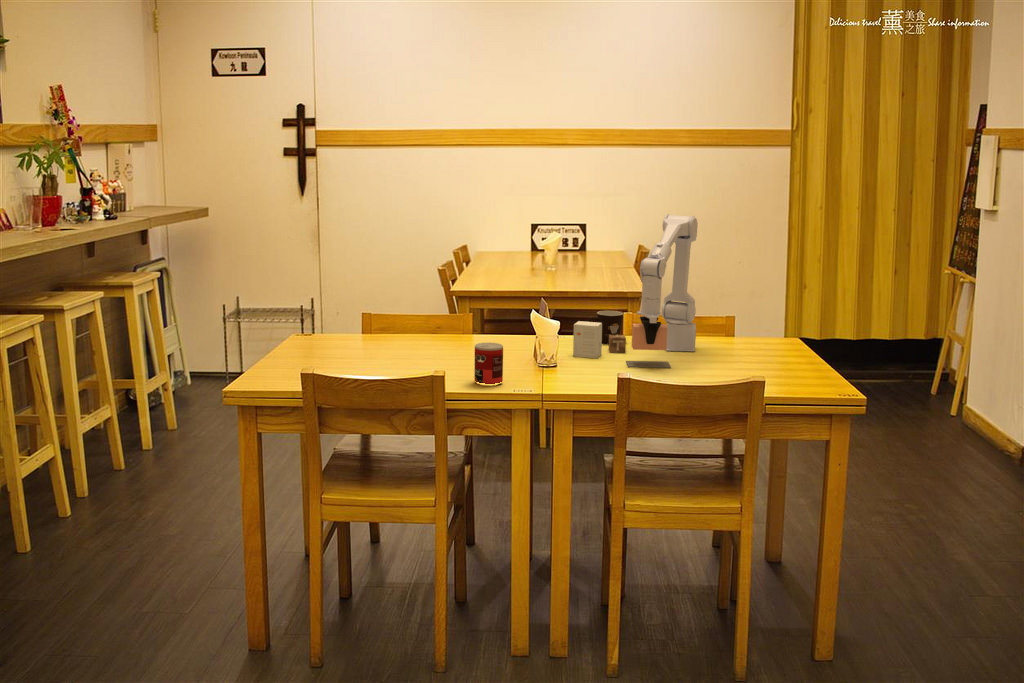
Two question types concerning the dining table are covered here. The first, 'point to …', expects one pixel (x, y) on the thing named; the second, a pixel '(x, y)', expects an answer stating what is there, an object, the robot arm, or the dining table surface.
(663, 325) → the pink rectangular block
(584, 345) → the small box
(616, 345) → the letter cube
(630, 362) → the mat
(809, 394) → the dining table surface
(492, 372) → the canned food
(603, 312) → the coffee mug
